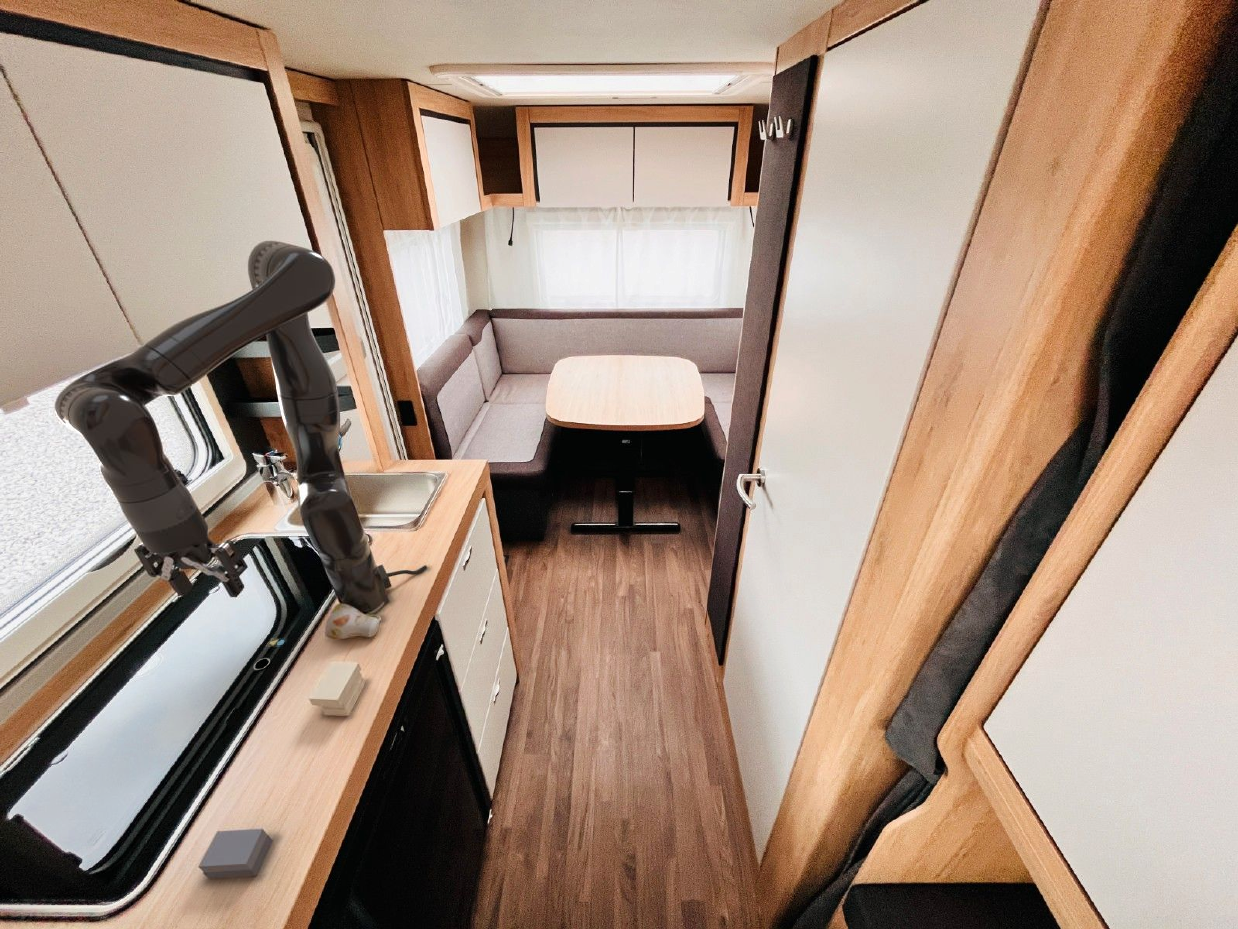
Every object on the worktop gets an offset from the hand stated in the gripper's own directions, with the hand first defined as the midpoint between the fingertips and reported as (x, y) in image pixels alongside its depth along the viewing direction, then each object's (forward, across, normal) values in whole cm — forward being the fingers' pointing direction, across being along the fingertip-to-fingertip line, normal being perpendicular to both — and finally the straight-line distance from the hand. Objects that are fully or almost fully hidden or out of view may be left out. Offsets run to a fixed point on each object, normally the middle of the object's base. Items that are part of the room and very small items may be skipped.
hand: (212, 592), depth 82 cm
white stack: (+26, -15, +1) cm, 30 cm away
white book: (+22, -15, +1) cm, 27 cm away
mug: (+26, -10, -14) cm, 32 cm away
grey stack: (+26, -12, +27) cm, 39 cm away
